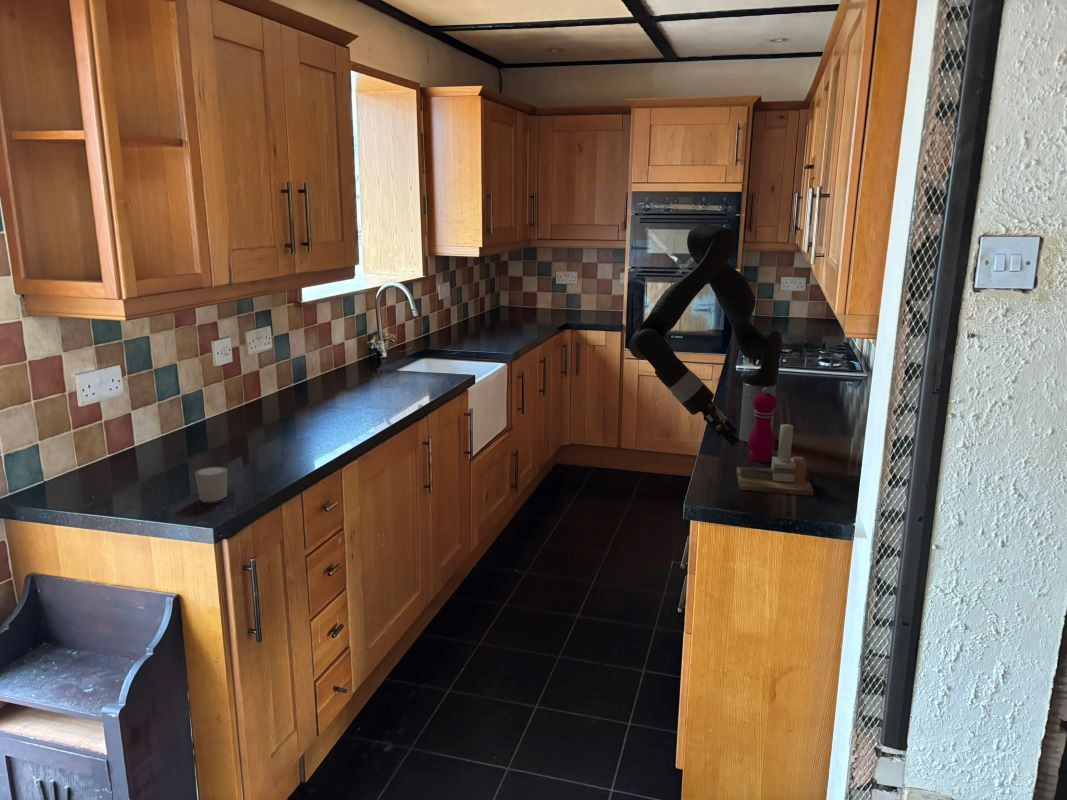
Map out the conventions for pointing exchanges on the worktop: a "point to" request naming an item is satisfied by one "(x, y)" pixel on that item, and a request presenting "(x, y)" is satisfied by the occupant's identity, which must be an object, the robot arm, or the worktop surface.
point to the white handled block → (784, 456)
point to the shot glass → (211, 483)
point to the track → (763, 481)
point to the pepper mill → (762, 428)
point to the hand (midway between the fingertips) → (735, 438)
